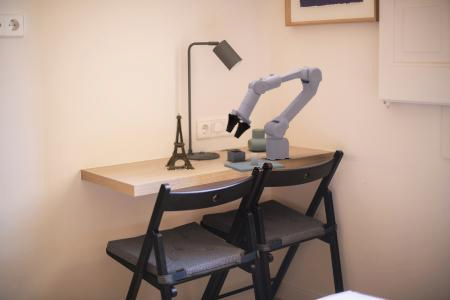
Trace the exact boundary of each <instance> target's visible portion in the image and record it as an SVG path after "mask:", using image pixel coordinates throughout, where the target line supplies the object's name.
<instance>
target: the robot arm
mask: <svg viewBox="0 0 450 300" xmlns="http://www.w3.org/2000/svg"><path fill="white" fill-rule="evenodd" d="M296 79H300V82H301V84H302V91H301V92H299V94H298V95H296V97H295V98H294V99H293V100H292V101H291V102H290V103H289V104H288V105H287V106H286V108H285V109H283V111H282V112H281V113H280V114H279V115H278V116H275V117H273V118H272V119H271V120H270V121H268V122H266V123H265V124H264V126H263V129H264V132H265V138H266V150H265V156H262V157H261V158H262V159H265V158H267V159H266V160H268V159H270V160H269V161H276V160H275V159H281V160H286V159H285V158H290V159H291V157H290V142H289V139H288V137H287V138H286V137H284V136H285V135H286V132H287V130H288V129H289V128H290V125H289V124H290V123H291V121H292V120H293V119H294V118H295V117H296V116H297V115H298V114H299V113H300V112H301V111H302V110H303V109H304V108H305V106H307V104H309V102H310V101H312V99H313V98H314V97H315V96H316V95H317V92H318V88H319V86H320V83H321V82H322V81H323V74H322V70H321V69H320V68H319V67H316V66H315V67H310V66H303V67H298V68H295V69H293V70H290V71H288V72H285V73H282V74H280V75H278V74H277V73H269V75H267V76H265V77H263V76H262V77H259V80H257V79H254V80H251V82H249V83H248V86H247V87H248V90H247V92H246V93H245V96H244V98H243V99H242V101H241V102H240V105H239V106H238V108H237V110H236V109H234V108H233V109H232V110H231V112H229V113H228V114H227V116H228V117H227V118H228V120H227V124H226V129H225V132H227V133H228V134H231V133H232V132H233V130H234V129H235V127H236V125H237V128H236V130H235V132H234V134H233V137H234V138H236V139H240V138H241V136H243V134H244V133H245V132H246V131H247V130H250V129H251V124H252V121H251V120H250V117H251V115H252V113H253V111H254V109H255V108H256V106H257V104H258V102H259V100H260V98H261V96H262V95H265V93H267V92H269V91H271V90H274V89H278V88H279V87H281V85H282V83H286V82H289V81H293V80H296Z"/></svg>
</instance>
